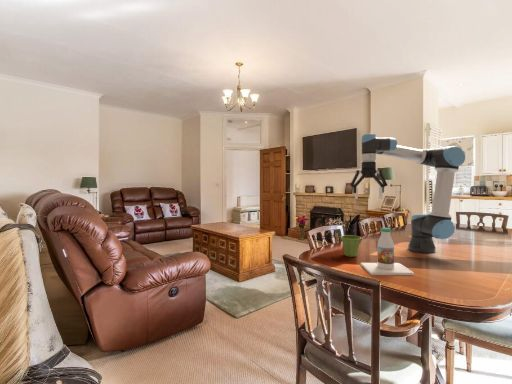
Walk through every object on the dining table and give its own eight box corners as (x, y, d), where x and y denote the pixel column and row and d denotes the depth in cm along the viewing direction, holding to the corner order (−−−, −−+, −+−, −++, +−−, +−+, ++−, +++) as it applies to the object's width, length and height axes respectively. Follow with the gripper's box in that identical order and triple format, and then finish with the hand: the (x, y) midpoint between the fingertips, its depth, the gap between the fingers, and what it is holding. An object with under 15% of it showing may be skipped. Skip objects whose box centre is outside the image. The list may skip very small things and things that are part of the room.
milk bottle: (374, 265, 146) (374, 227, 145) (388, 264, 147) (388, 226, 146) (382, 270, 138) (382, 229, 138) (397, 269, 139) (397, 229, 138)
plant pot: (362, 258, 163) (362, 239, 163) (341, 257, 165) (341, 238, 165) (359, 253, 175) (359, 235, 174) (339, 252, 177) (339, 234, 177)
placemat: (399, 265, 150) (399, 262, 150) (414, 275, 134) (414, 272, 134) (360, 264, 151) (360, 262, 151) (371, 274, 135) (371, 272, 135)
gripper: (348, 161, 157) (348, 199, 158) (393, 160, 156) (393, 198, 157) (344, 162, 165) (344, 198, 166) (388, 161, 163) (388, 198, 164)
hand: (368, 198), depth 161 cm, fingers open, 13 cm apart
